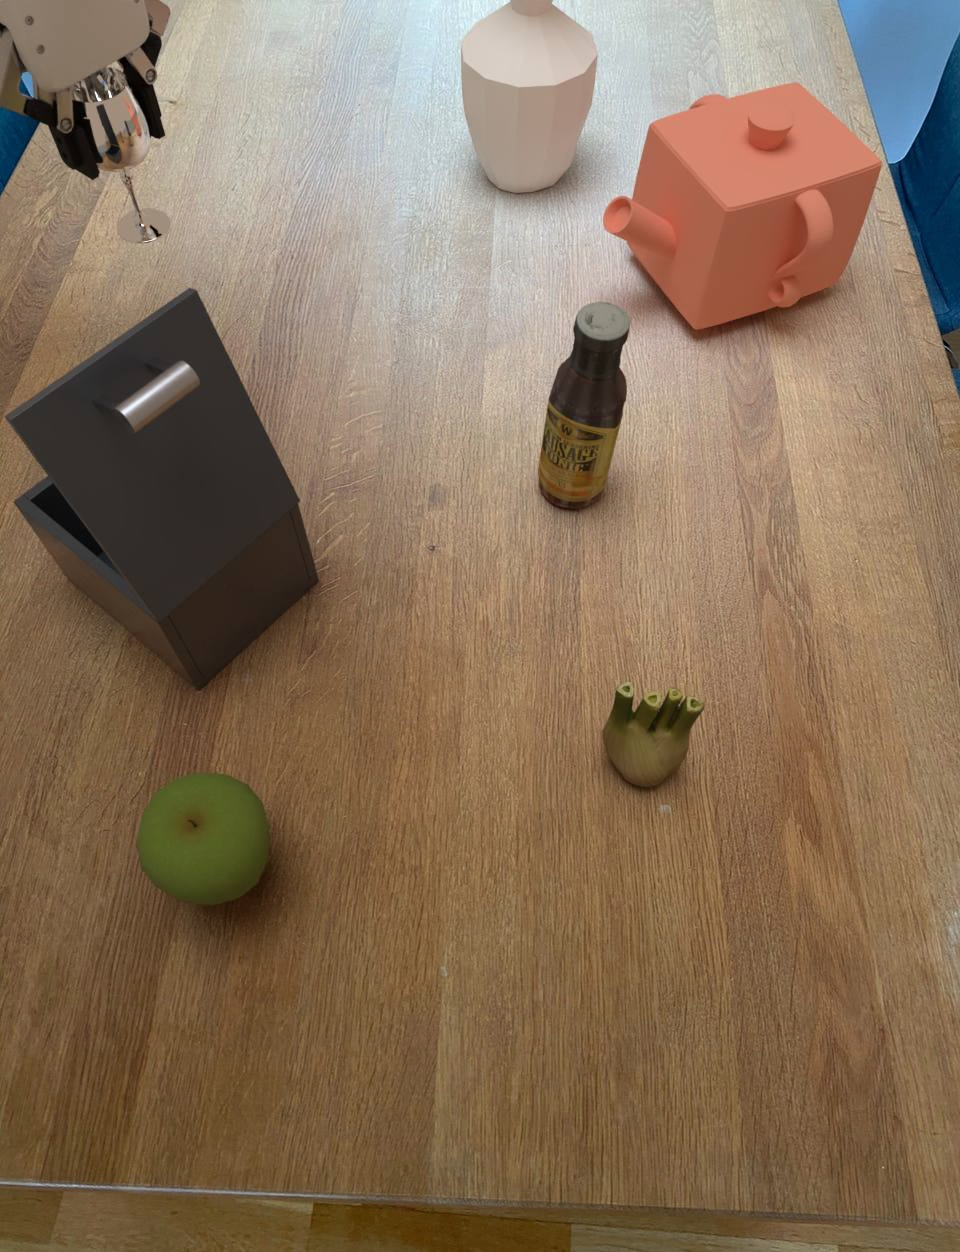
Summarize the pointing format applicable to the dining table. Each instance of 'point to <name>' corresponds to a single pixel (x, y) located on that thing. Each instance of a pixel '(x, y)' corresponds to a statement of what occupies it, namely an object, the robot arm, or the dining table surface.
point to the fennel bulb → (649, 734)
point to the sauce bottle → (585, 409)
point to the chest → (206, 619)
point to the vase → (527, 92)
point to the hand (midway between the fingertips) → (116, 148)
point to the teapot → (746, 202)
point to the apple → (204, 839)
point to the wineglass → (118, 143)
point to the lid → (160, 453)
